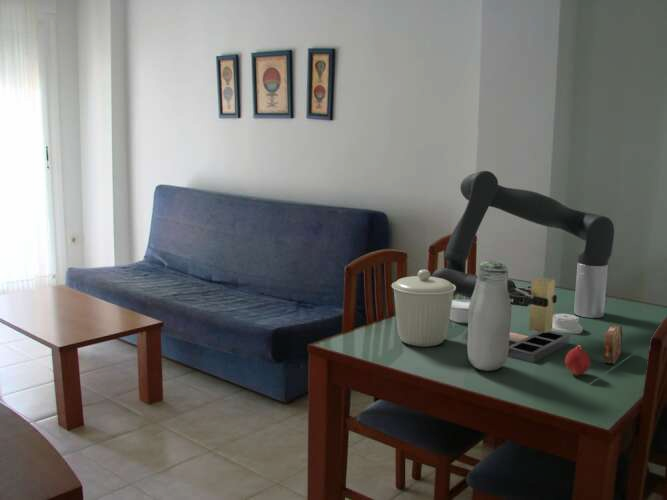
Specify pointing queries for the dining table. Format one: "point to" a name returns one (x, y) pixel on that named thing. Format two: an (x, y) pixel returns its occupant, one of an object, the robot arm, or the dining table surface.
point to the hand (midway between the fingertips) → (551, 301)
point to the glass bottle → (489, 317)
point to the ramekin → (459, 311)
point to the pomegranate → (577, 361)
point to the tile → (516, 337)
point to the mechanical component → (566, 324)
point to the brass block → (541, 315)
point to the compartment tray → (537, 346)
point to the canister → (423, 308)
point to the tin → (612, 344)
